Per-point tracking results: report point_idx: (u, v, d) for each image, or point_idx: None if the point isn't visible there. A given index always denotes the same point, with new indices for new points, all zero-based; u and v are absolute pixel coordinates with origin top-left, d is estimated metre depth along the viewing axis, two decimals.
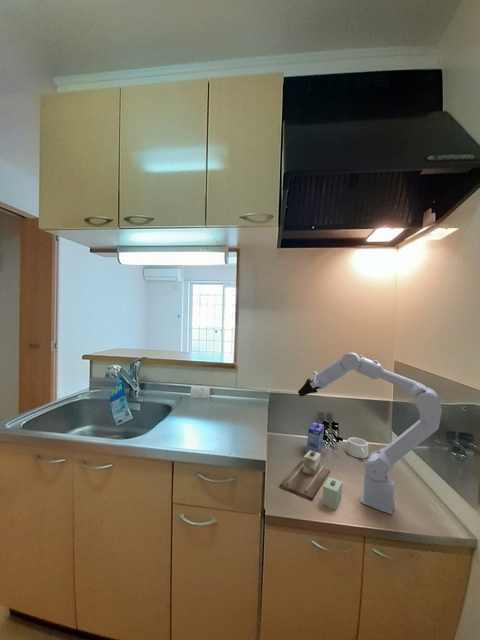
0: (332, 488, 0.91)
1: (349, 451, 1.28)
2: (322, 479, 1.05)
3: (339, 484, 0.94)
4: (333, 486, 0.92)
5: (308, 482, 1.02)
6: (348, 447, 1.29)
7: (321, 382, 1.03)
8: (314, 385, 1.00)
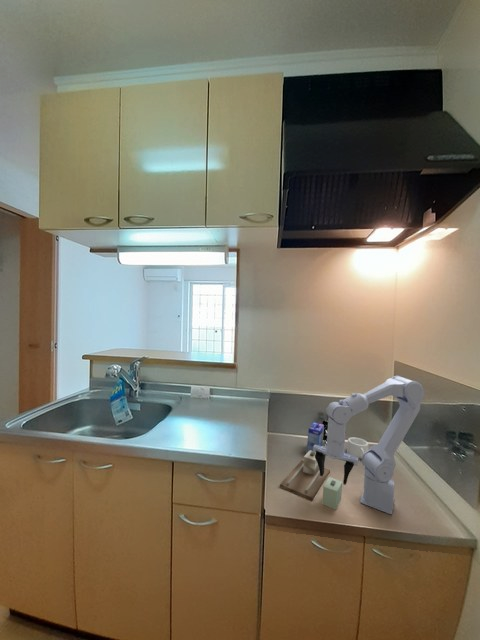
0: (332, 488, 0.91)
1: (349, 451, 1.28)
2: (322, 479, 1.05)
3: (339, 484, 0.94)
4: (333, 486, 0.92)
5: (308, 482, 1.02)
6: (348, 447, 1.29)
7: (344, 452, 0.93)
8: (357, 460, 0.90)
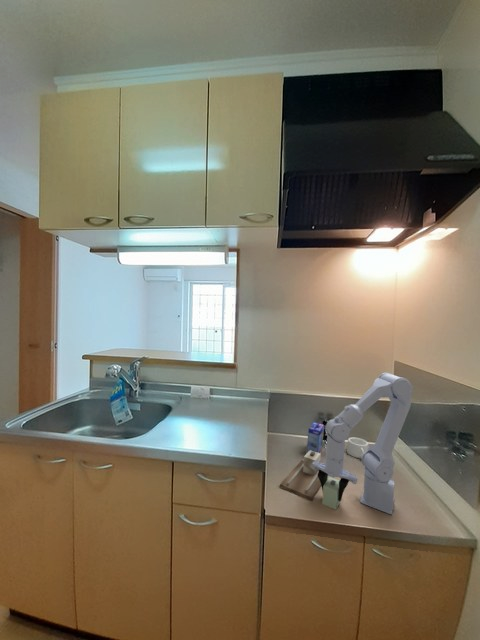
0: (332, 487, 0.91)
1: (349, 451, 1.28)
2: None
3: None
4: (333, 486, 0.92)
5: (308, 482, 1.02)
6: (348, 447, 1.29)
7: (342, 469, 0.93)
8: (356, 478, 0.90)
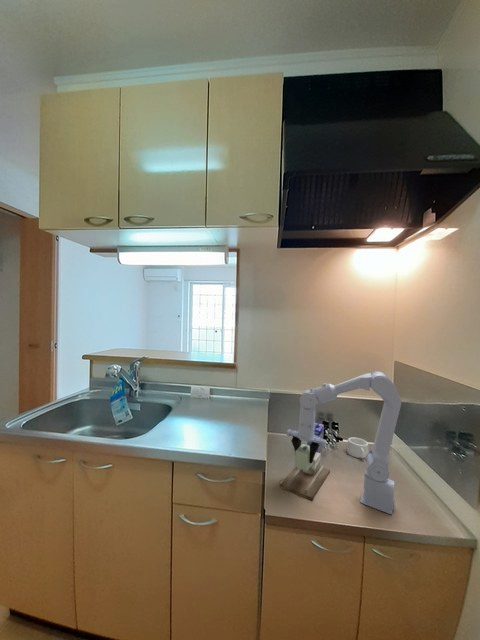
0: (303, 451, 1.00)
1: (349, 451, 1.28)
2: (322, 479, 1.05)
3: None
4: (305, 450, 1.01)
5: (308, 482, 1.02)
6: (348, 447, 1.29)
7: (314, 435, 1.02)
8: (325, 442, 0.99)
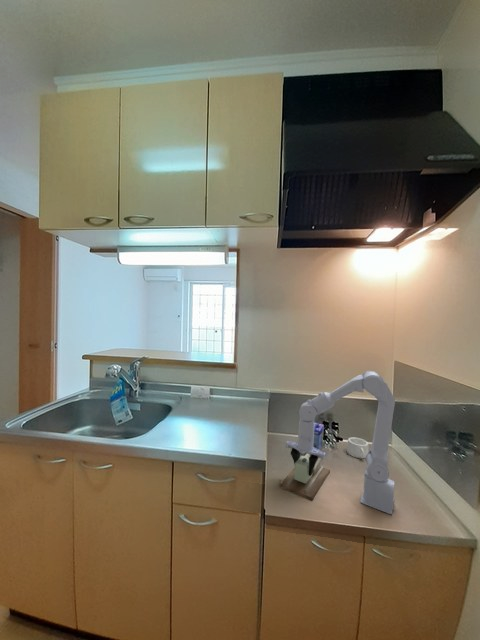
0: (303, 464, 1.00)
1: (349, 451, 1.28)
2: (322, 479, 1.05)
3: None
4: (304, 463, 1.01)
5: (308, 482, 1.02)
6: (348, 447, 1.29)
7: (313, 447, 1.02)
8: None
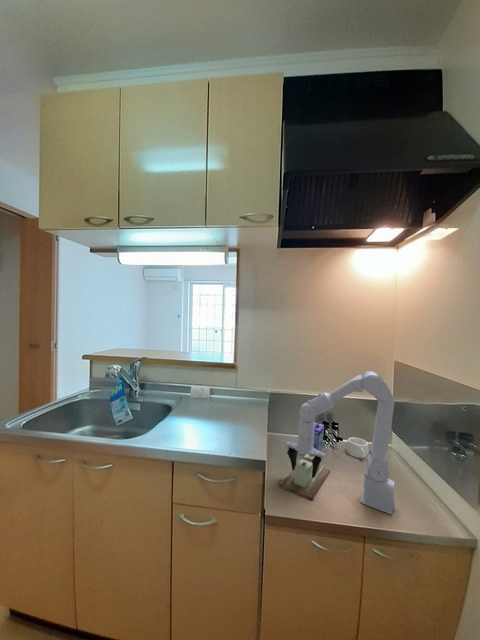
0: (302, 468, 1.00)
1: (349, 451, 1.28)
2: (322, 479, 1.05)
3: (309, 465, 1.03)
4: (304, 466, 1.01)
5: None
6: (348, 447, 1.29)
7: (313, 448, 1.02)
8: (324, 455, 0.99)
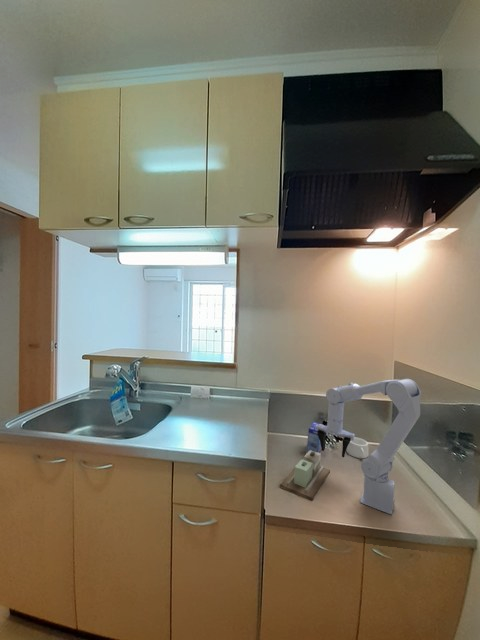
0: (302, 468, 1.00)
1: (349, 451, 1.28)
2: (322, 479, 1.05)
3: (309, 465, 1.03)
4: (304, 466, 1.01)
5: None
6: (348, 447, 1.29)
7: None
8: (354, 436, 1.05)
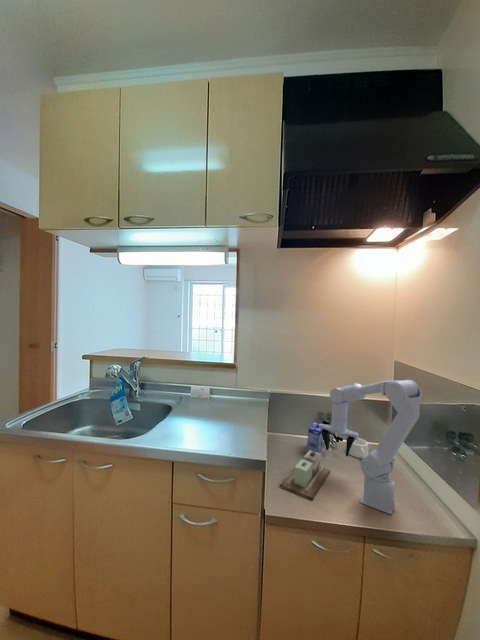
0: (302, 468, 1.00)
1: (349, 451, 1.28)
2: (322, 479, 1.05)
3: (309, 465, 1.03)
4: (304, 466, 1.01)
5: None
6: None
7: (346, 429, 1.09)
8: None
